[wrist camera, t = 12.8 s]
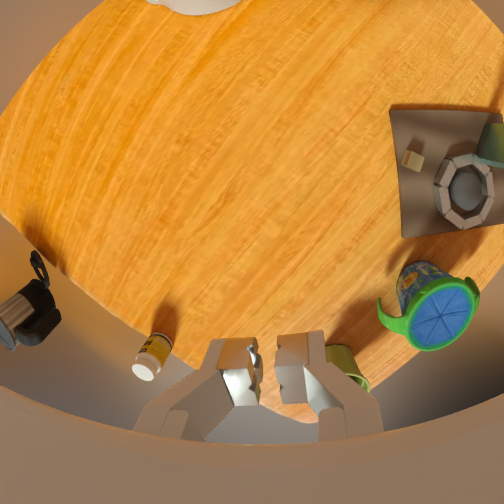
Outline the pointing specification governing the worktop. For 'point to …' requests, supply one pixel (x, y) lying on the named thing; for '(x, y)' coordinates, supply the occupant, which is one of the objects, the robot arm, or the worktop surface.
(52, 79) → the worktop surface
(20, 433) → the robot arm
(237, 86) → the worktop surface
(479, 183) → the base
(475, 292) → the snack cup
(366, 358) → the worktop surface
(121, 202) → the worktop surface
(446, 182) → the ring with upright panel
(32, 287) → the milk frother
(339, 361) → the plant pot
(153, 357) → the supplement bottle
